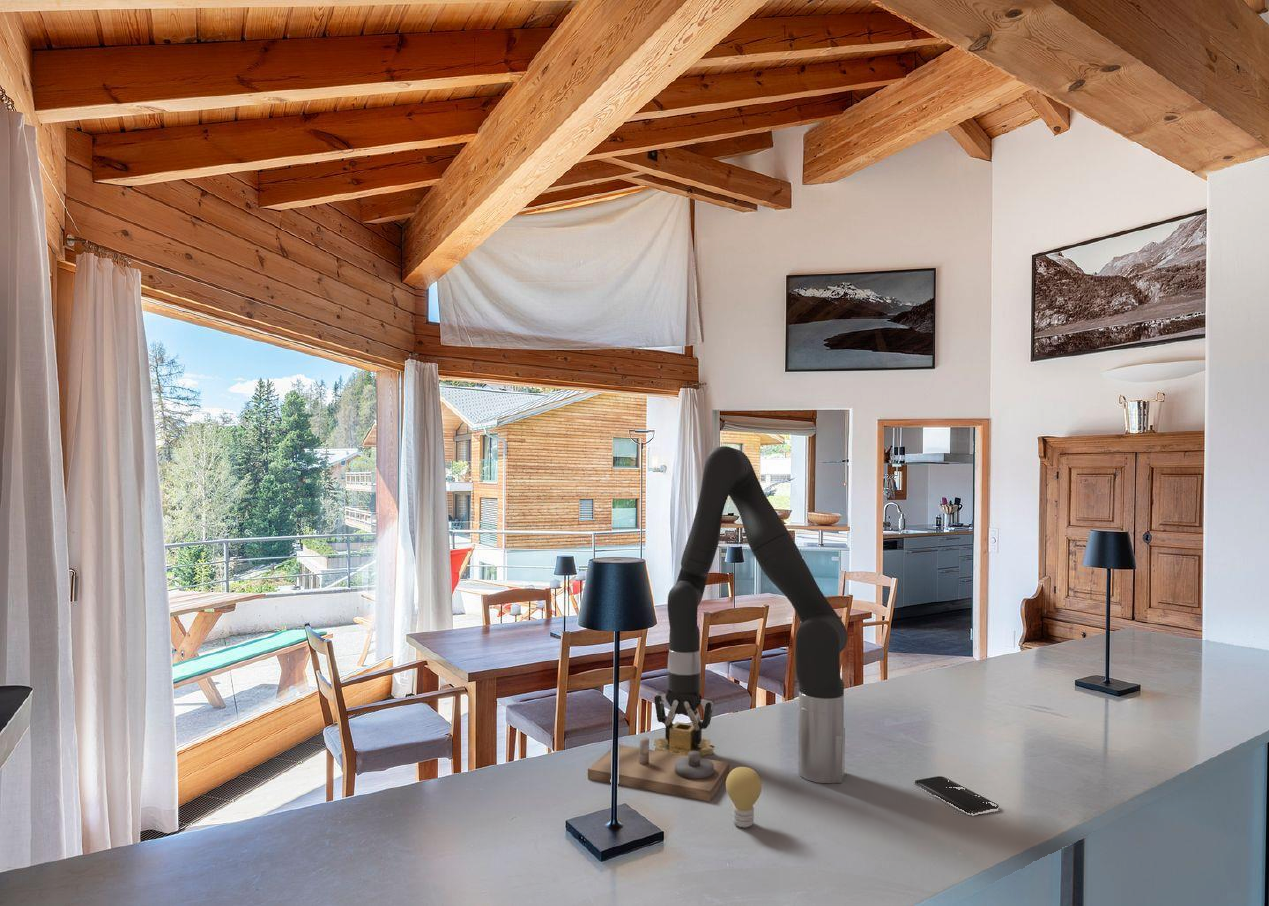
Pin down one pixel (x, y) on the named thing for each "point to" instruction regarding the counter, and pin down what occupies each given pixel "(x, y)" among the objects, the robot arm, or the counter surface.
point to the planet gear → (682, 741)
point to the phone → (955, 794)
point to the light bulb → (743, 794)
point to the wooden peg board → (663, 771)
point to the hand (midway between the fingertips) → (683, 743)
